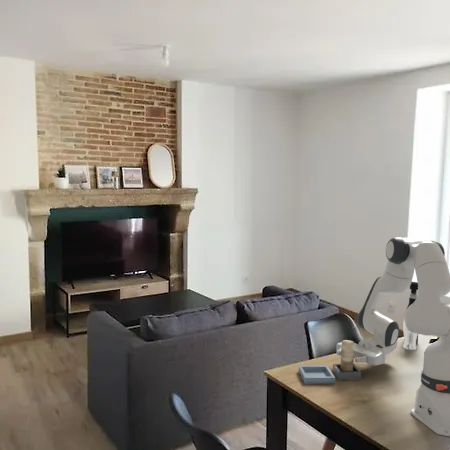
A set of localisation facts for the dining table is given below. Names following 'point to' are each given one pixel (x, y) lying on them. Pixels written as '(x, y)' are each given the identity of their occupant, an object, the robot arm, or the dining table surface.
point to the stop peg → (347, 356)
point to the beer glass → (409, 338)
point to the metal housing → (346, 373)
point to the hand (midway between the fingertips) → (346, 356)
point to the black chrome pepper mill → (413, 297)
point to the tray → (316, 375)
